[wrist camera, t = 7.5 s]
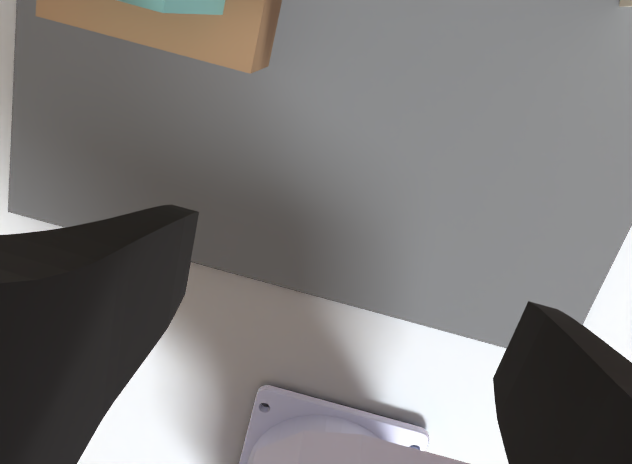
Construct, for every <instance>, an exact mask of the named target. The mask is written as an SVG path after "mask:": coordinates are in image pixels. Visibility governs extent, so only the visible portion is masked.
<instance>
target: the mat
mask: <svg viewBox="0 0 632 464" xmlns="http://www.w3.org/2000/svg"><path fill="white" fill-rule="evenodd" d="M619 4H620V0H282V3H281V8H280V13H279V18H278V23H277V28H276V32H275V37H274V42H273V47H272V52H271V57H270V61H269V66H268V67H266V68H263V69H261V70H258V71H256V72H253V73H251V74H250V73H246V72H242V71H239V70H235V69H231V68H228V67H224V66H220V65H216V64H213V63H209V62H205V61H201V60H198V59H194V58H190V57H187V56H183V55H179V54H175V53H172V52H168V51H164V50H161V49H157V48H153V47H149V46H146V45H142V44H138V43H134V42H131V41H127V40H123V39H120V38H116V37H112V36H108V35H105V34H101V33H97V32H94V31H90V30H86V29H82V28H79V27H75V26H71V25H68V24H64V23H60V22H56V21H53V20H49V19H45V18H41V17H38V16H36V0H17V10H16V34H15V58H14V82H13V106H12V130H11V154H10V178H9V202H8V212H11V213H15V214H18V215H22V216H26V217H29V218H33V219H36V220H40V221H44V222H47V223H51V224H55V225H58V226H62V227H71V226H76V225H80V224H85V223H90V222H95V221H100V220H105V219H109V218H113V217H117V216H121V215H125V214H129V213H132V212H136V211H140V210H144V209H148V208H152V207H157V206H162V205H171V204H172V205H175V206H179V207H183V208H187V209H190V210H194V211H198V212H199V216H198V222H197V227H196V233H195V239H194V245H193V251H192V256H191V262H194V263H197V264H201V265H204V266H208V267H212V268H215V269H219V270H223V271H226V272H230V273H234V274H237V275H241V276H245V277H248V278H252V279H256V280H259V281H263V282H267V283H270V284H274V285H278V286H281V287H285V288H288V289H292V290H296V291H299V292H303V293H307V294H310V295H314V296H318V297H321V298H325V299H329V300H332V301H336V302H340V303H343V304H347V305H351V306H354V307H358V308H362V309H365V310H369V311H372V312H376V313H380V314H383V315H387V316H391V317H394V318H398V319H402V320H405V321H409V322H413V323H416V324H420V325H424V326H427V327H431V328H435V329H438V330H442V331H446V332H449V333H453V334H457V335H460V336H464V337H467V338H471V339H475V340H478V341H482V342H486V343H489V344H493V345H497V346H500V347H504V348H507V347H508V345H509V342H510V340H511V338H512V336H513V334H514V332H515V329H516V327H517V325H518V323H519V321H520V318H521V316H522V314H523V312H524V310H525V307H526V305H527V303H528V301H530V302H533V303H537V304H541V305H544V306H548V307H552V308H555V309H558V310H560V311H562V312H564V313H565V314H567V315H569V316H570V317H572V318H573V319H575V320H576V321H577V322H579V323H580V324H582V325H583V323H584V321H585V319H586V317H587V315H588V313H589V310H590V308H591V306H592V304H593V302H594V300H595V298H596V296H597V294H598V292H599V290H600V288H601V286H602V284H603V282H604V280H605V278H606V276H607V274H608V272H609V270H610V268H611V266H612V264H613V262H614V260H615V258H616V256H617V254H618V252H619V250H620V248H621V246H622V244H623V242H624V240H625V238H626V236H627V234H628V232H629V230H630V228H631V225H632V6H628V7H619Z"/></svg>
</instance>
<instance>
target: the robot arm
mask: <svg viewBox="0 0 632 464" xmlns="http://www.w3.org/2000/svg"><path fill="white" fill-rule="evenodd" d="M198 216H199V212H198V211H194V210H190V209H187V208H183V207H179V206H175V205H172V204H171V205H162V206H157V207H152V208H148V209H144V210H140V211H136V212H132V213H129V214H125V215H121V216H117V217H113V218H109V219H105V220H100V221H95V222H90V223H85V224H80V225H76V226H71V227H66V228H60V229H54V230H47V231H39V232H30V233H21V234H11V235H0V464H77V462H78V461H79V459H80V457H81V455H82V454H83V452H84V450H85V448H86V447H87V445H88V443H89V441H90V440H91V438H92V436H93V434H94V433H95V431H96V429H97V427H98V426H99V424H100V422H101V420H102V419H103V417H104V416H105V414H106V413H107V411H108V410H109V408H110V407H111V405H112V404H113V402H114V401H115V400H116V398H117V397H118V395H119V394H120V393H121V391H122V390H123V389H124V387H125V386H126V385H127V383H128V382H129V380H130V379H131V378H132V376H133V375H134V374H135V372H136V371H137V370H138V368H139V367H140V366H141V364H142V363H143V361H144V360H145V359H146V357H147V356H148V355H149V353H150V352H151V350H152V349H153V348H154V346H155V345H156V344H157V342H158V341H159V339H160V338H161V337H162V335H163V334H164V332H165V331H166V329H167V328H168V326H169V324H170V322H171V320H172V319H173V317H174V315H175V313H176V311H177V309H178V307H179V305H180V303H181V301H182V299H183V297H184V295H185V291H186V285H187V280H188V274H189V268H190V262H191V256H192V251H193V245H194V239H195V233H196V227H197V222H198ZM493 382H494V394H495V404H496V413H497V420H498V424H499V428H500V432H501V436H502V440H503V444H504V447H505V451H506V455H507V459H508V462H509V464H632V363H631V362H630V361H629V360H627V359H626V358H625V357H623V356H622V355H621V354H619V353H618V352H617V351H616V350H614V349H613V348H612V347H610V346H609V345H608V344H607V343H605V342H604V341H603V340H601V339H600V338H599V337H597V336H596V335H595V334H594V333H592V332H591V331H590V330H588V329H587V328H586V327H584V326H583V325H582V324H580V323H579V322H577V321H576V320H575V319H573V318H572V317H570V316H569V315H567V314H565V313H564V312H562V311H560V310H558V309H555V308H552V307H548V306H544V305H541V304H537V303H533V302H530V301H528V303H527V305H526V307H525V310H524V312H523V314H522V316H521V318H520V321H519V323H518V325H517V327H516V329H515V332H514V334H513V336H512V338H511V340H510V342H509V345H508V347H507V349H506V351H505V353H504V356H503V358H502V360H501V362H500V364H499V367H498V369H497V371H496V373H495V375H494V378H493ZM261 403H266V404H268V405H269V407H264V406H262V405H261ZM428 443H429V435H428V432H427V431H426V430H425V429H424V428H422V427H419V426H415V425H412V424H408V423H405V422H401V421H397V420H394V419H390V418H386V417H383V416H379V415H376V414H372V413H368V412H365V411H361V410H358V409H354V408H350V407H347V406H343V405H339V404H336V403H332V402H329V401H325V400H321V399H318V398H314V397H310V396H307V395H303V394H300V393H296V392H292V391H289V390H285V389H282V388H278V387H274V386H271V385H264V386H261V387H260V388H259V389H258V391H257V394H256V398H255V402H254V406H253V410H252V414H251V417H250V421H249V425H248V429H247V433H246V437H245V441H244V445H243V449H242V453H241V457H240V461H239V464H469V463H465V462H461V461H458V460H454V459H451V458H447V457H443V456H440V455H436V454H432V453H429V452H425V451H426V448H427V446H428ZM411 445H418V447H416V448H412V447H410V446H411Z"/></svg>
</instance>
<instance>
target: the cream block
mask: <svg viewBox="0 0 632 464" xmlns="http://www.w3.org/2000/svg"><path fill="white" fill-rule="evenodd" d="M628 6H632V0H620V4H619V7H628Z"/></svg>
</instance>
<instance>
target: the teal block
mask: <svg viewBox="0 0 632 464" xmlns="http://www.w3.org/2000/svg"><path fill="white" fill-rule="evenodd" d="M117 1H121V2H124V3H128V4H132V5H135V6H139V7H142V8H146V9H150V10H153V11H157V12H161V13H176V14H207V15H223V10H224V5H225V0H117Z"/></svg>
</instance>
